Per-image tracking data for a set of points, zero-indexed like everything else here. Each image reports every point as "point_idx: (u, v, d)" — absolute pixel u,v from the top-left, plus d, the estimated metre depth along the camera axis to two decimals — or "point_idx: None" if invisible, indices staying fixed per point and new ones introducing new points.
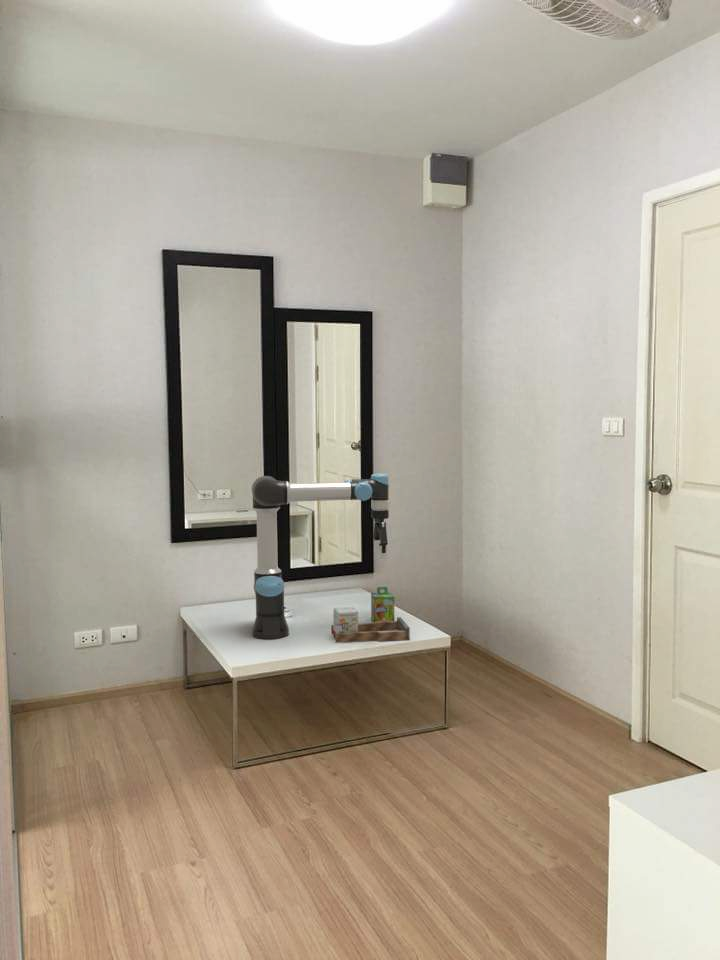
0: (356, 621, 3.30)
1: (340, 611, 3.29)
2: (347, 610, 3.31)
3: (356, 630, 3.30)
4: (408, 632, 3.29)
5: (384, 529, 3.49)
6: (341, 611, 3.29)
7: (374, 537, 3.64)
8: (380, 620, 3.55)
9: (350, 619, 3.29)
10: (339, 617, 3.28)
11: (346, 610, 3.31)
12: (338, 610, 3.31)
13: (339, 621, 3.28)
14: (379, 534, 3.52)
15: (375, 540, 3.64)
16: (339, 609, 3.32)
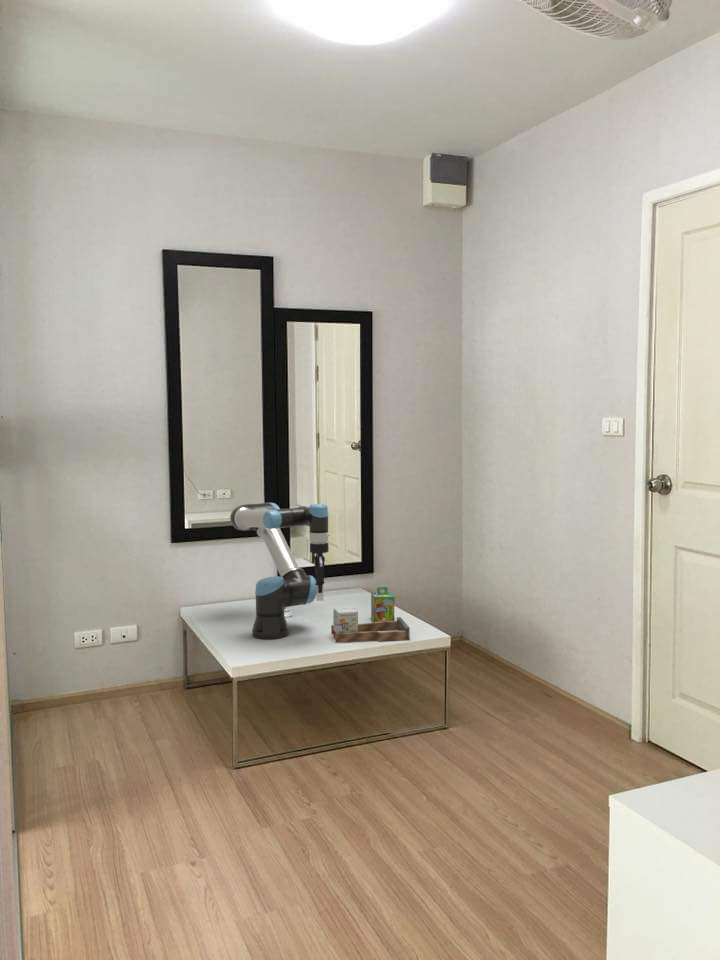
0: (356, 621, 3.30)
1: (340, 611, 3.29)
2: (347, 610, 3.31)
3: (356, 630, 3.30)
4: (408, 632, 3.29)
5: (322, 569, 3.24)
6: (341, 611, 3.29)
7: (316, 580, 3.31)
8: (380, 620, 3.55)
9: (350, 619, 3.29)
10: (339, 617, 3.28)
11: (346, 610, 3.31)
12: (338, 610, 3.31)
13: (339, 621, 3.28)
14: (316, 571, 3.28)
15: None
16: (339, 609, 3.32)
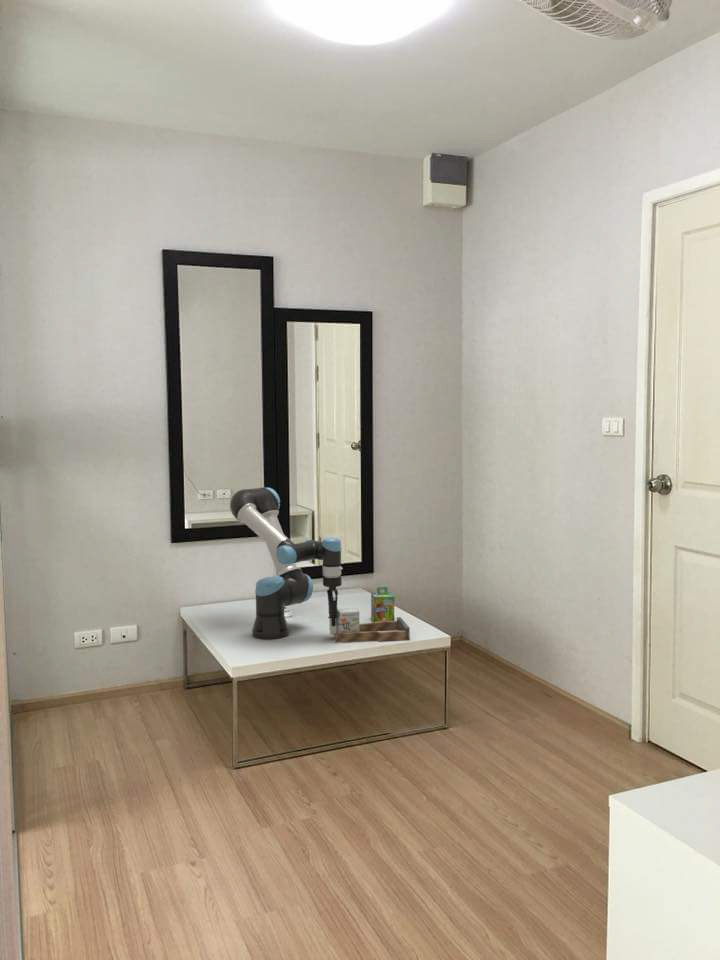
0: (357, 621, 3.30)
1: (341, 611, 3.30)
2: (348, 609, 3.32)
3: (357, 630, 3.30)
4: (408, 632, 3.29)
5: (335, 603, 3.26)
6: (342, 611, 3.30)
7: (329, 613, 3.32)
8: (380, 620, 3.55)
9: (351, 619, 3.29)
10: (341, 617, 3.28)
11: (347, 610, 3.31)
12: (339, 610, 3.31)
13: (341, 621, 3.28)
14: (330, 604, 3.30)
15: None
16: (340, 609, 3.32)
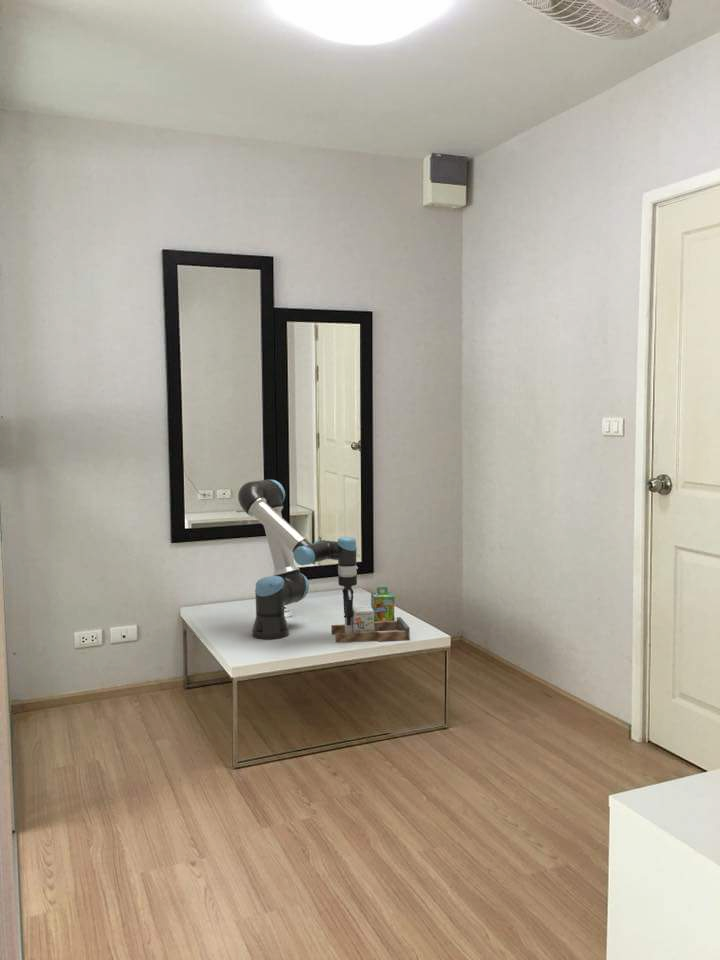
0: (372, 620, 3.30)
1: (356, 610, 3.31)
2: (363, 609, 3.32)
3: (372, 629, 3.31)
4: (408, 632, 3.29)
5: (350, 602, 3.27)
6: (357, 610, 3.31)
7: (344, 612, 3.34)
8: (380, 620, 3.55)
9: (366, 618, 3.30)
10: (355, 616, 3.29)
11: (362, 609, 3.32)
12: (354, 609, 3.32)
13: (355, 620, 3.29)
14: (345, 604, 3.31)
15: None
16: (356, 608, 3.33)
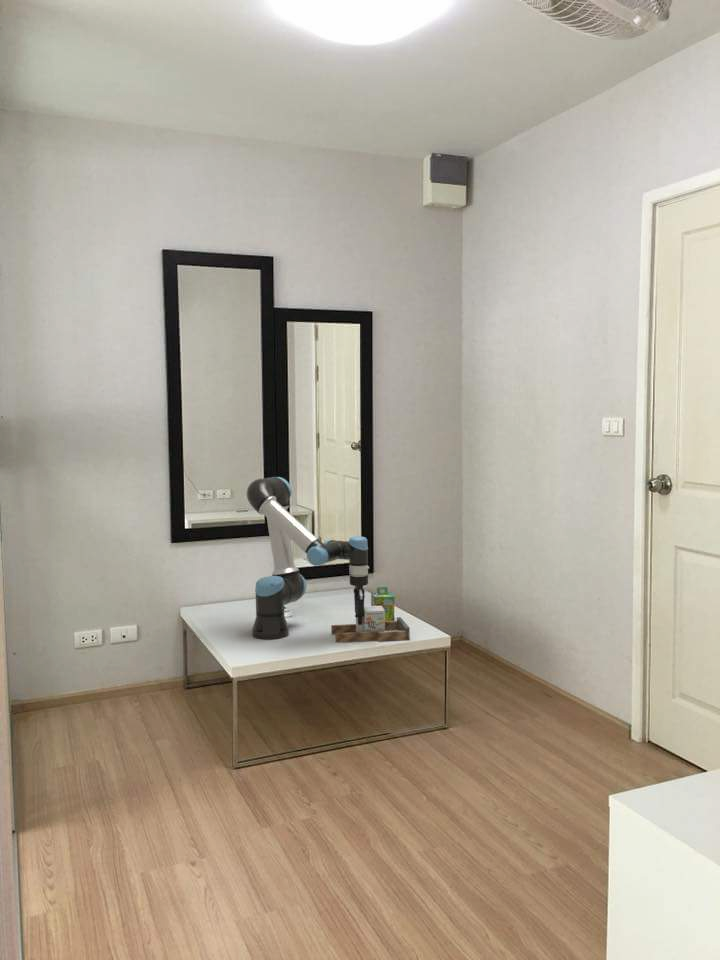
0: (383, 620, 3.31)
1: (367, 609, 3.31)
2: (374, 608, 3.33)
3: (383, 629, 3.31)
4: (408, 632, 3.29)
5: (362, 602, 3.28)
6: (368, 609, 3.31)
7: (355, 612, 3.34)
8: None
9: (376, 618, 3.30)
10: (366, 615, 3.30)
11: (373, 609, 3.33)
12: (365, 608, 3.33)
13: (366, 619, 3.30)
14: (356, 603, 3.31)
15: None
16: (367, 607, 3.34)
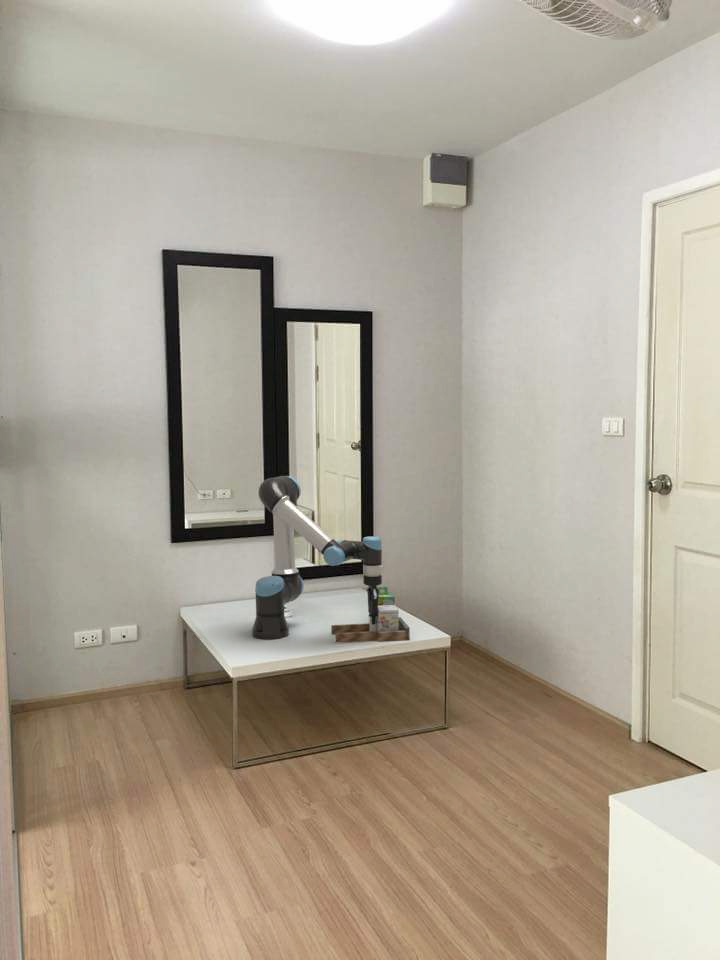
0: (397, 619, 3.32)
1: (381, 609, 3.32)
2: (388, 608, 3.34)
3: (396, 628, 3.32)
4: (408, 632, 3.29)
5: (376, 601, 3.29)
6: (382, 609, 3.32)
7: (369, 611, 3.35)
8: None
9: (390, 617, 3.31)
10: (379, 615, 3.31)
11: (387, 608, 3.33)
12: (379, 608, 3.34)
13: (379, 619, 3.31)
14: (370, 603, 3.33)
15: None
16: (380, 607, 3.35)
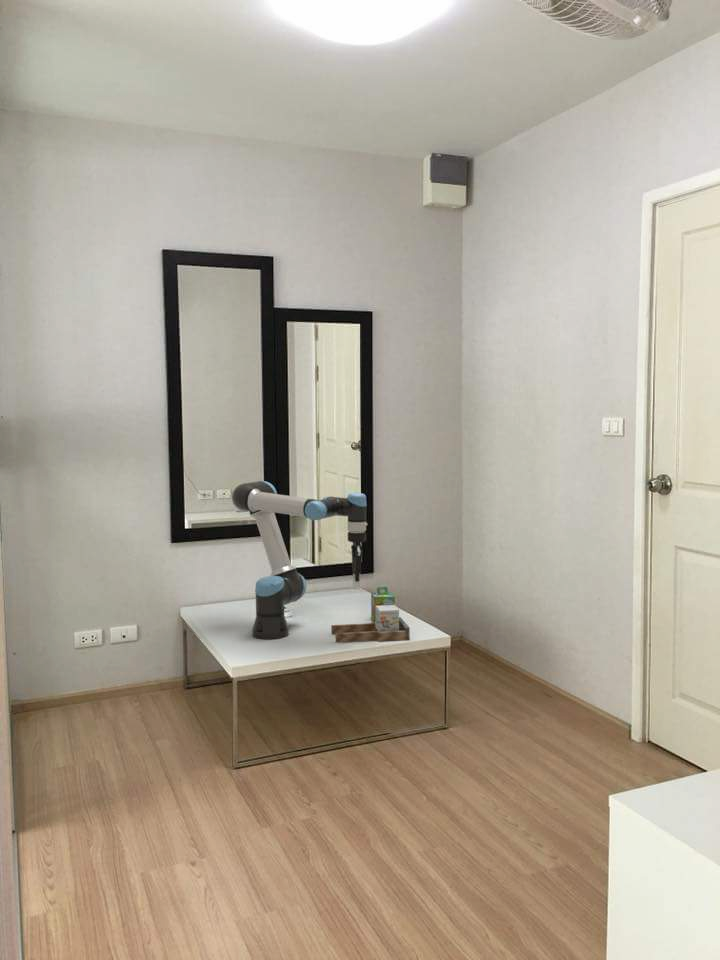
0: (397, 619, 3.32)
1: (381, 609, 3.32)
2: (388, 608, 3.34)
3: (397, 628, 3.32)
4: (408, 632, 3.29)
5: (359, 558, 3.26)
6: (382, 609, 3.32)
7: (353, 569, 3.33)
8: None
9: (391, 617, 3.31)
10: (380, 615, 3.31)
11: (387, 608, 3.34)
12: (379, 608, 3.34)
13: (380, 619, 3.31)
14: (354, 560, 3.30)
15: None
16: (381, 607, 3.35)
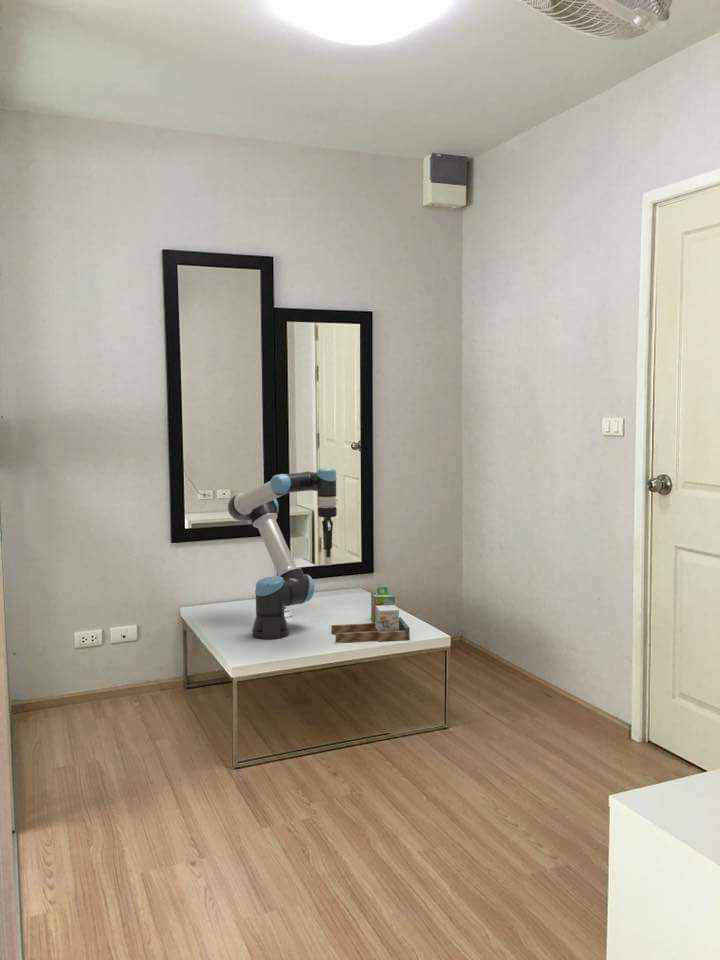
0: (397, 619, 3.32)
1: (381, 609, 3.32)
2: (388, 608, 3.34)
3: (397, 628, 3.32)
4: (408, 632, 3.29)
5: (330, 533, 3.24)
6: (382, 609, 3.32)
7: (324, 544, 3.30)
8: None
9: (390, 617, 3.31)
10: (380, 615, 3.31)
11: (387, 608, 3.34)
12: (379, 608, 3.34)
13: (380, 619, 3.31)
14: (325, 535, 3.27)
15: None
16: (381, 607, 3.35)
